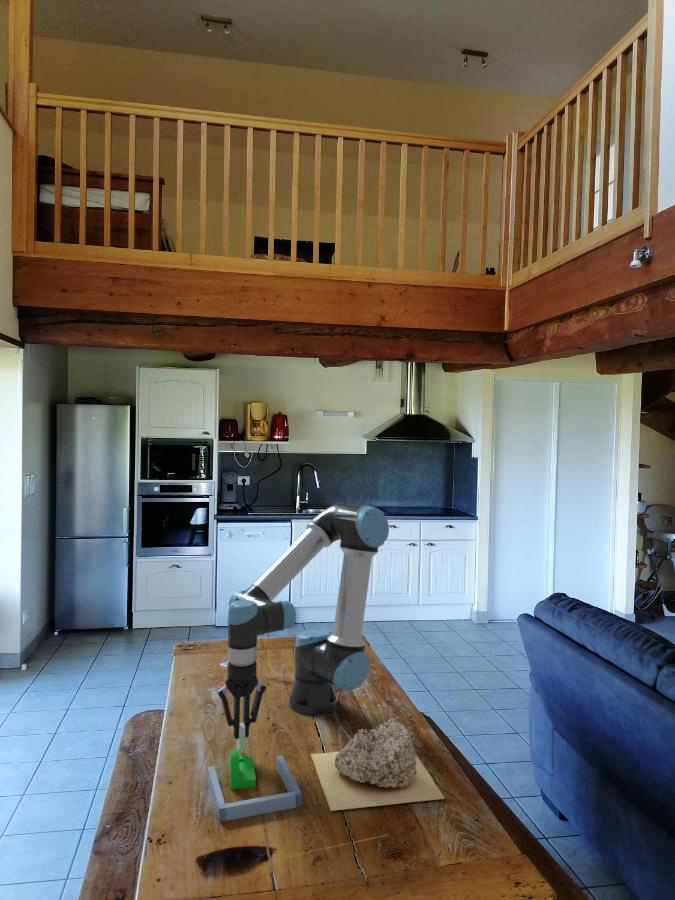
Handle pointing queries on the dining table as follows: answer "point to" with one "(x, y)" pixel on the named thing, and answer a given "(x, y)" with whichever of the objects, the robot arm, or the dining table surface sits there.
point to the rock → (375, 770)
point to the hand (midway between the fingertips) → (240, 749)
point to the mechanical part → (241, 770)
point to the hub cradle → (257, 804)
